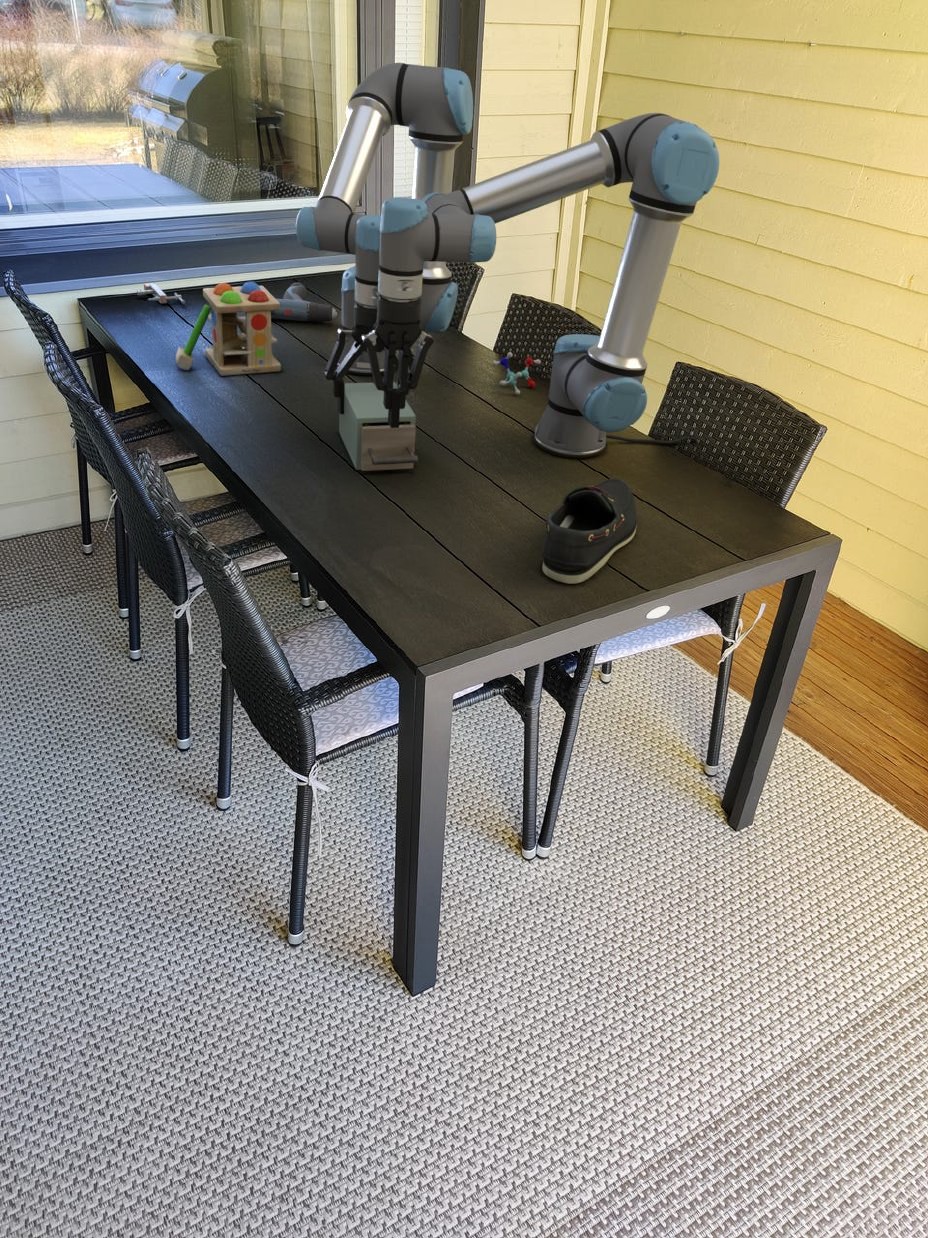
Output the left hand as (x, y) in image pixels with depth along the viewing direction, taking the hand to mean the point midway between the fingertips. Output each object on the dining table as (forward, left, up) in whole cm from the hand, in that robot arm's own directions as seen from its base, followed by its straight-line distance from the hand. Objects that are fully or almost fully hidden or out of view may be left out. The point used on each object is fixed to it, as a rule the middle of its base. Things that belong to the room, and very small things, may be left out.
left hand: (370, 410), depth 200 cm
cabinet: (+2, +5, -6) cm, 8 cm away
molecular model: (-47, -5, -6) cm, 47 cm away
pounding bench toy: (+3, -51, -6) cm, 51 cm away
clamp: (-8, -102, -6) cm, 102 cm away
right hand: (+9, +18, +6) cm, 20 cm away
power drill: (-36, -74, -6) cm, 82 cm away
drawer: (+5, +10, -5) cm, 12 cm away
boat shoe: (-6, +55, -6) cm, 56 cm away
